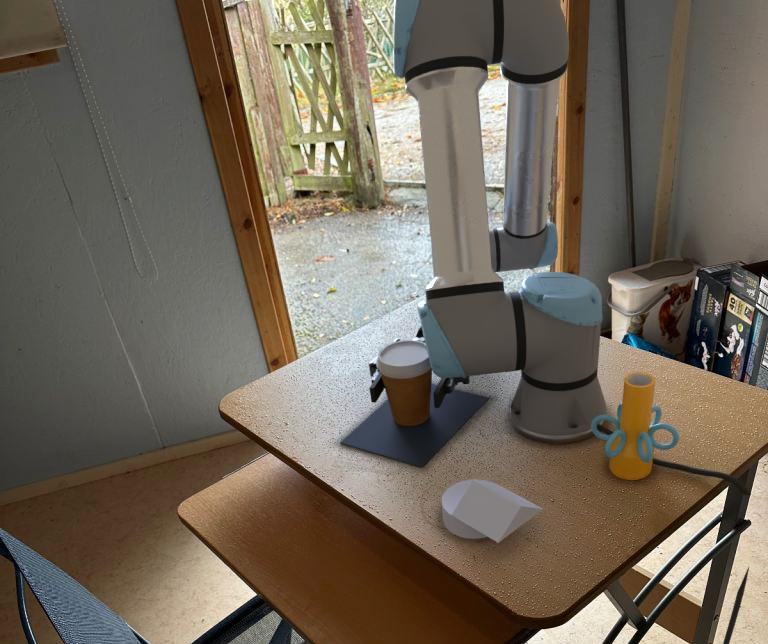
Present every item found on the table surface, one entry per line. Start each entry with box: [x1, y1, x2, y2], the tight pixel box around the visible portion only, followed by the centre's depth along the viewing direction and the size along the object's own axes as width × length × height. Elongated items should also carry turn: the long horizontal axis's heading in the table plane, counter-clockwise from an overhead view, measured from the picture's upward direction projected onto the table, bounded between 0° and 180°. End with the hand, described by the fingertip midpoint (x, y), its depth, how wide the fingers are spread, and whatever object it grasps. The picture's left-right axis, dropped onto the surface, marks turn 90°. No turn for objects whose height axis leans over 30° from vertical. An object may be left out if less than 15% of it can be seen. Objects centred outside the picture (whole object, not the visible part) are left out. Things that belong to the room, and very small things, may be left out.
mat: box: [339, 383, 490, 469], centre depth 130 cm, size 16×22×1 cm
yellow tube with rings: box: [591, 371, 680, 481], centre depth 109 cm, size 12×10×15 cm
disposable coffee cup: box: [376, 339, 433, 426], centre depth 127 cm, size 10×10×12 cm
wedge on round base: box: [441, 478, 544, 544], centre depth 106 cm, size 9×7×13 cm
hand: (403, 397), depth 123 cm, fingers open, 10 cm apart
